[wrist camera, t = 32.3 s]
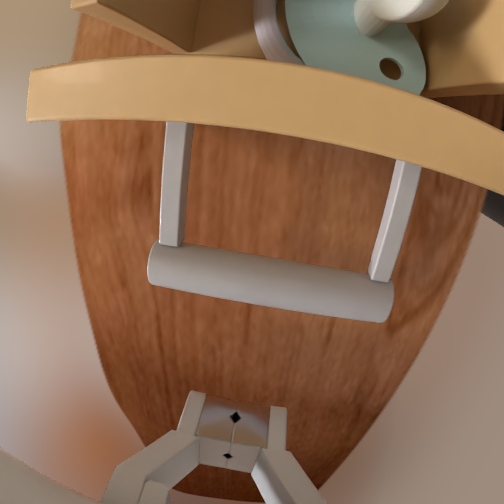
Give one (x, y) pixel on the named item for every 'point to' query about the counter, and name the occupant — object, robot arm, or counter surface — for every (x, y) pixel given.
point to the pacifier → (349, 36)
